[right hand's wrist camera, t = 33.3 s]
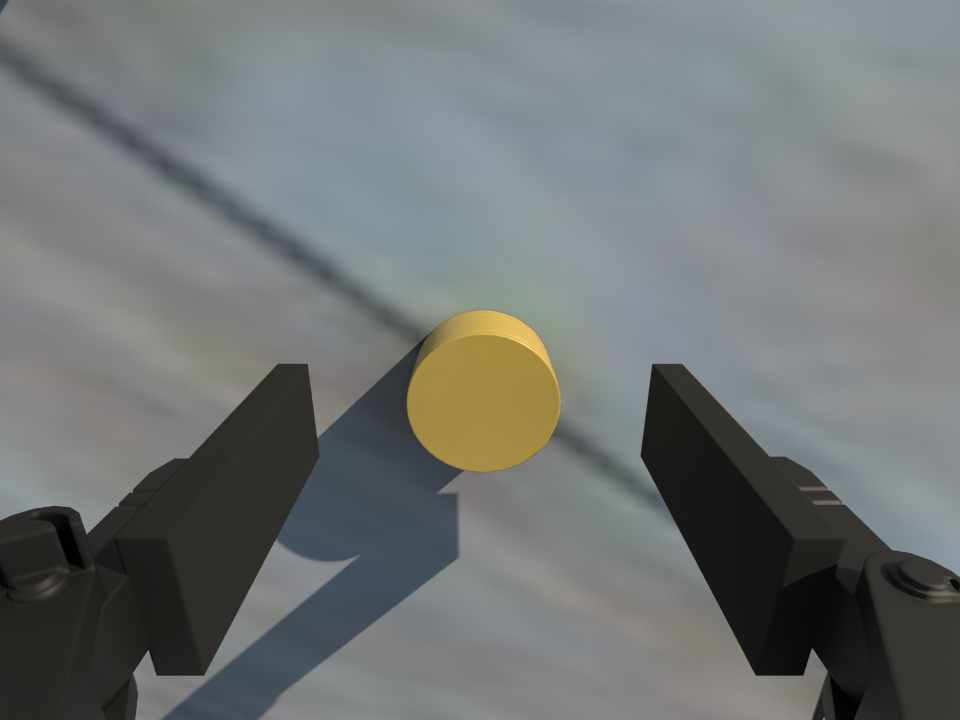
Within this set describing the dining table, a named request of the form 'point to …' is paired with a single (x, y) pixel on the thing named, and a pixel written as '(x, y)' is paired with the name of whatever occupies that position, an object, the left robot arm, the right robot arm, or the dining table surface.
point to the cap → (483, 392)
